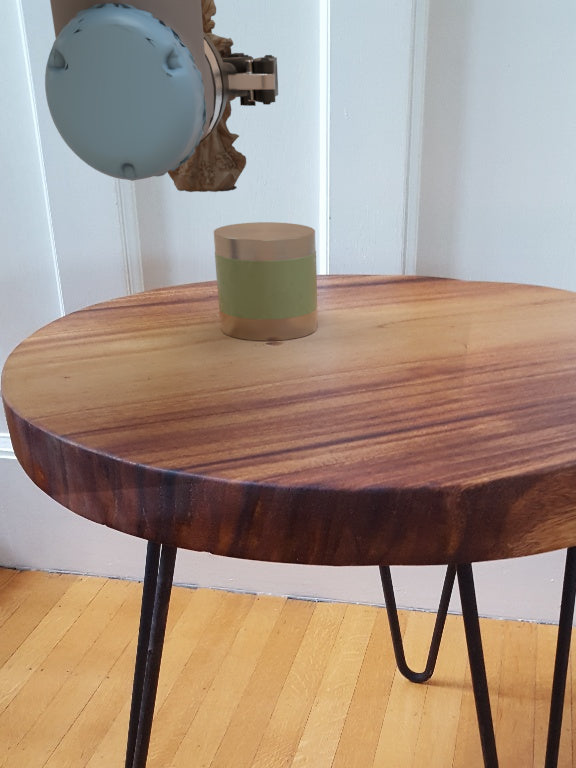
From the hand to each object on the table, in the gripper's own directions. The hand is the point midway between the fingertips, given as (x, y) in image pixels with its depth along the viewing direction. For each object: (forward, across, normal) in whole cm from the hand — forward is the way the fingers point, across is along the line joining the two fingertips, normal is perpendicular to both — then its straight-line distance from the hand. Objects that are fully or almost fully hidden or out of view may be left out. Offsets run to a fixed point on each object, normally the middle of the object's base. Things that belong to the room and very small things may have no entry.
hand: (200, 72), depth 78 cm
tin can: (+6, +4, -22) cm, 23 cm away
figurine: (-5, 0, -8) cm, 10 cm away
